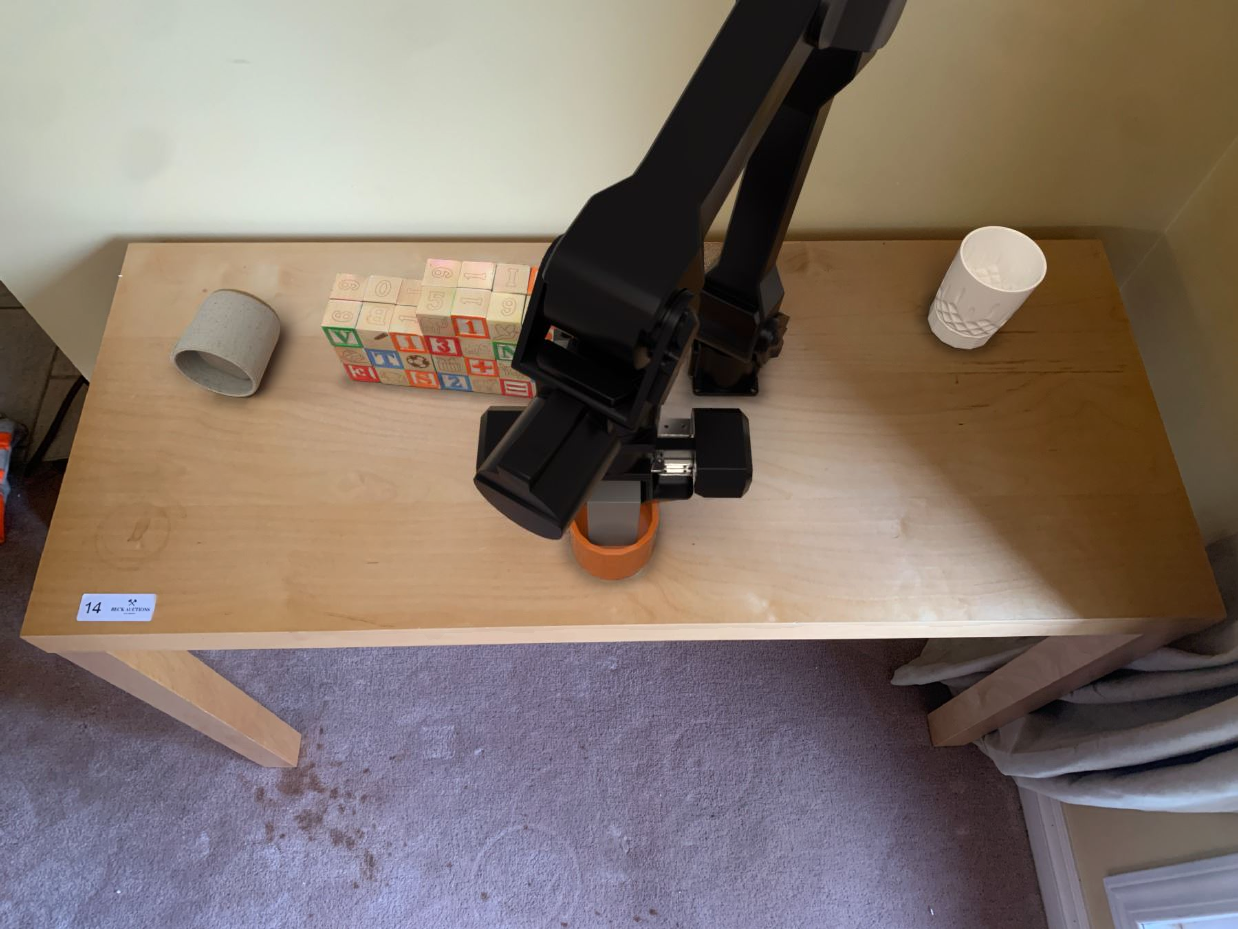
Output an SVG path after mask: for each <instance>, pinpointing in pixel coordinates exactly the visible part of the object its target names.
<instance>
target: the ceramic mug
mask: <svg viewBox="0 0 1238 929" xmlns="http://www.w3.org/2000/svg"><path fill="white" fill-rule="evenodd" d="M281 327H282V326H281V320H280V317H279V316H278V313H276V311H275V310H274V309H273V308H272V306H271V305H270V304H268V303H267V302H266V301H265V300H263V299H262V298H260V297H258V296H256V295H254V294H252V293H250V292H248V291H245V290H240V289H236V288H219V289H217V290H214V291H213V292H211V293H210V294H209V295H208V296H207V297H206V298H205V299H204V301H203V302H202V303H201V304H200V306H199V307H198V309H197V311H196V313H195V315H194V316H193V319H192V320H191V321H190V323H189V325H188V327H187V328H186V329H185V331H184V332H183V334H182V335H180V337H179V338H178V340H177V341H176V343H175V344H174V346H173V347H172V350H171V353H170V356H169V360H170V363H171V364H172V365H173V367H175V369H176V370H177V371H179V373H180V374H181V375H182V376H184V377H185V378H186V379H188V380H189V381H191V382H192V383H194V384H196V385H197V386H199V387H201V388H204V389H205V390H209V391H210V392H214V393H216V394H220V395H224V396H228V397H234V398H238V397H239V398H244V397H249V396H251V395H253V394H255V393H256V391H257V390H258V388H259V386H260V383H261V380H262V378H263V375H264V373H265V371H266V369H267V367H268V364H269V362H270V359H271V356H272V354H273V352H274V350H275V348H276V345H277V343H278V341H279V338H280V332H281Z"/></svg>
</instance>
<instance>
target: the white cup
mask: <svg viewBox="0 0 1238 929" xmlns="http://www.w3.org/2000/svg"><path fill="white" fill-rule="evenodd" d="M1047 269H1048V267H1047V260H1046V256H1045V254H1044V252H1043V251H1042V249H1041V247H1039V245H1038V244H1037V243H1036V242H1035V241H1034V240H1033V239H1031V238H1030V237H1029V236H1027V235H1026V234H1024V233H1022V232H1020V231H1018V230H1015V229H1013V228H1009V227H1005V226H1001V225H1000V226H999V225H989V226H983V227H982V226H981V227H979V228H976V229H974V230H972V231H970V232H969V233H968V234H967V235H966V236H965V237H964V238H963V240H962V242H961V244H960V245H959V248H958V250H957V252H956V254H955V255H954V258H953V260H952V262H951V263H950V265H949V267H948V269H947V271H946V273H945V275H944V278H943V279H942V282H941V284H940V285H939V287H938V290H937V292H936V295H935V297H934V299H933V302H932V303H931V305H930V307H929V311H928V315H927V322H928V324H929V328H930V330H931V332H932V333H933V334H934V336H936V337H937V338H938V339H939V340H940V342H942V343H944V344H946V345H948V346H950V347H953V348H955V349H963V350H972V349H976V348H980V347H983V346H985V345H986V343H987V342H988V341H990V340H991V338H993V336H994V335H995V333H997V331H998V330H999V329H1001V328H1002V327H1003V326H1004V325H1005V324H1006V323H1007V321H1009V319H1010V318H1011V317H1012V316H1013V315H1014V313H1016V312H1017V311H1018V310H1019V309H1020V307H1021V306H1022V305H1023V304H1024V303H1025V301H1026V300H1027V299H1028V298H1029V297H1030V295H1031V294H1032V293H1033V292H1034V290H1036V289H1037V287H1038V286H1039V285H1040V284H1041V283H1042V282H1043V280H1044V278H1045V276H1046V274H1047Z"/></svg>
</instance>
